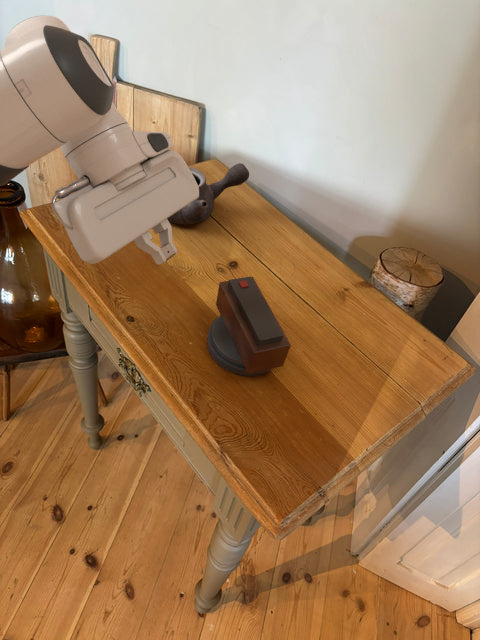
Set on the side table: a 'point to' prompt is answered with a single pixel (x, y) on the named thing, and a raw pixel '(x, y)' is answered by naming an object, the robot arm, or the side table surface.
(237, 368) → the turntable base
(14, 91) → the robot arm
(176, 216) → the teapot
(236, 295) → the remote caddy
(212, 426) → the side table surface
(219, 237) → the side table surface
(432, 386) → the side table surface
